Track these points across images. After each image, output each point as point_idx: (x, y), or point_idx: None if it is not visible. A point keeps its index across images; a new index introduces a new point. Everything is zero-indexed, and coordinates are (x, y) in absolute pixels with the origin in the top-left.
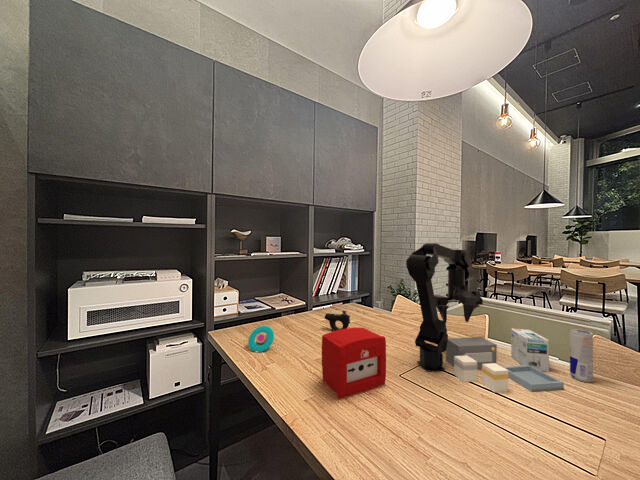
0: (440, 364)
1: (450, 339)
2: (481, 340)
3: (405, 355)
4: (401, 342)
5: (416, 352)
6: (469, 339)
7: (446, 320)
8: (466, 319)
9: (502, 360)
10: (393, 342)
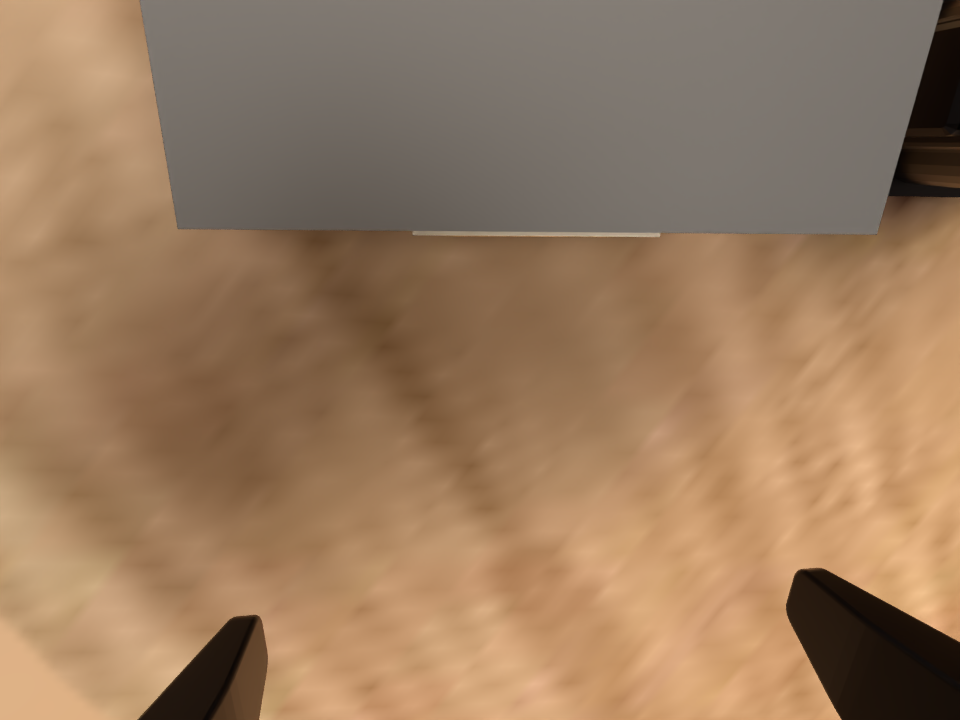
0: None
1: (844, 181)
2: (304, 37)
3: (950, 350)
4: None
5: (818, 399)
6: (513, 134)
7: (840, 600)
8: (248, 684)
9: (11, 111)
10: None
